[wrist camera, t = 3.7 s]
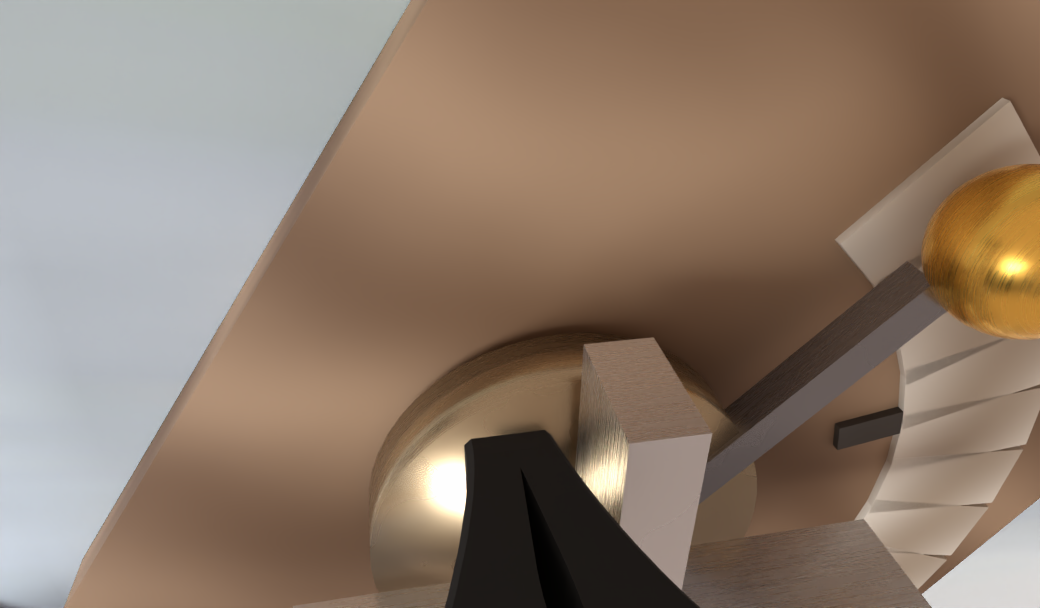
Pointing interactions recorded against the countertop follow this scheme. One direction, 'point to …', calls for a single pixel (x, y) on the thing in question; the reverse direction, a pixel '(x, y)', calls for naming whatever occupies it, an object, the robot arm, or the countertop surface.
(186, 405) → the lever board
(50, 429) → the countertop surface
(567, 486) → the robot arm
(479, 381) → the capstan
